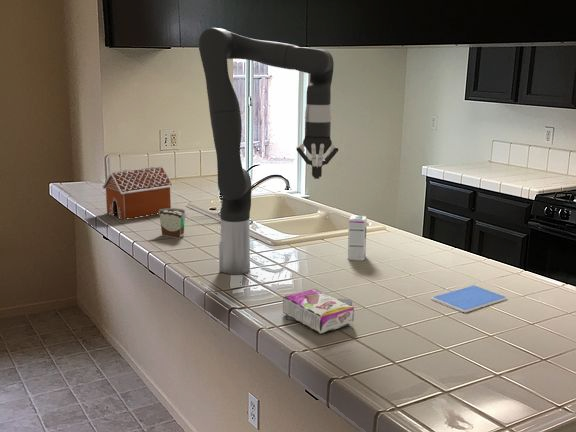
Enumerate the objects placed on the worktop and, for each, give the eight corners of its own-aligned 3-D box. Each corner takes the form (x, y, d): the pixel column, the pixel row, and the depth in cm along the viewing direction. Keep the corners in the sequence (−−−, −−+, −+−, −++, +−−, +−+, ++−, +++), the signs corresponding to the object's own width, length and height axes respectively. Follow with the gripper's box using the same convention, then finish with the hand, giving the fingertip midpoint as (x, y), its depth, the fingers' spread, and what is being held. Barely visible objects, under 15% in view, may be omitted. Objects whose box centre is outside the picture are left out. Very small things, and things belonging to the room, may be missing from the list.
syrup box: (364, 260, 214) (366, 219, 210) (347, 259, 215) (348, 218, 211) (365, 255, 219) (367, 215, 216) (348, 254, 220) (350, 214, 217)
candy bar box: (314, 287, 172) (355, 306, 160) (314, 304, 174) (354, 324, 161) (282, 295, 166) (321, 316, 153) (281, 313, 167) (320, 335, 154)
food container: (193, 236, 241) (193, 210, 238) (183, 239, 236) (182, 213, 233) (170, 231, 247) (169, 206, 245) (159, 234, 242) (158, 209, 240)
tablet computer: (473, 288, 191) (473, 284, 191) (508, 301, 181) (509, 296, 181) (429, 301, 180) (430, 296, 180) (464, 315, 170) (465, 311, 170)
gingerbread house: (102, 213, 274) (99, 168, 269) (154, 204, 291) (152, 162, 286) (123, 221, 261) (120, 174, 256) (176, 212, 278) (174, 167, 273)
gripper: (339, 119, 187) (337, 176, 191) (294, 118, 186) (294, 175, 190) (341, 121, 179) (339, 181, 183) (295, 121, 179) (294, 180, 183)
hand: (316, 178), depth 187 cm, fingers closed
